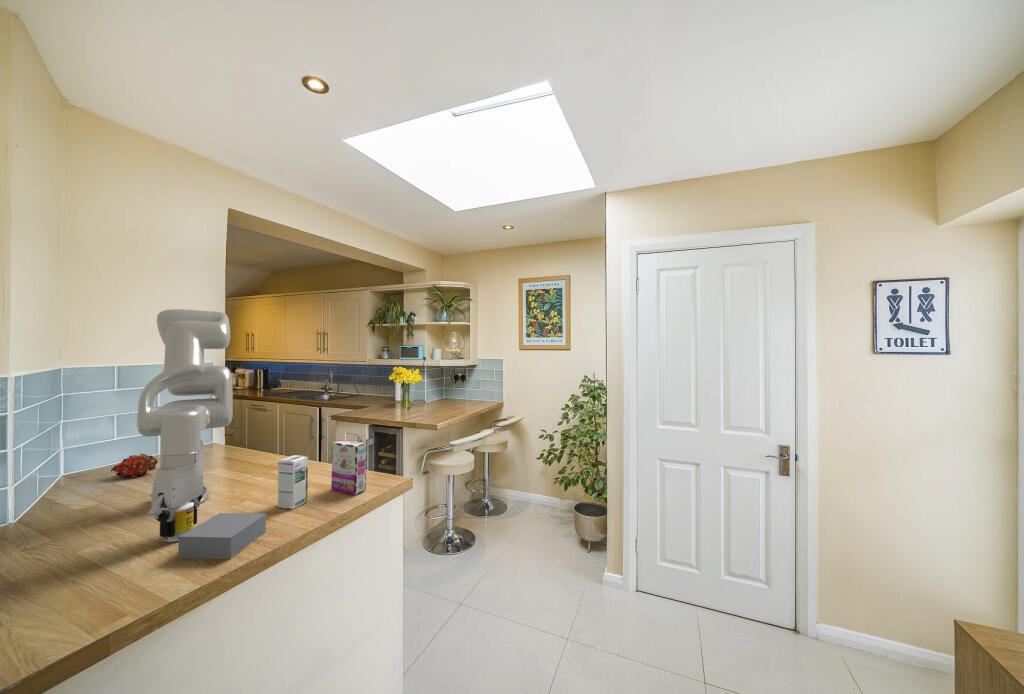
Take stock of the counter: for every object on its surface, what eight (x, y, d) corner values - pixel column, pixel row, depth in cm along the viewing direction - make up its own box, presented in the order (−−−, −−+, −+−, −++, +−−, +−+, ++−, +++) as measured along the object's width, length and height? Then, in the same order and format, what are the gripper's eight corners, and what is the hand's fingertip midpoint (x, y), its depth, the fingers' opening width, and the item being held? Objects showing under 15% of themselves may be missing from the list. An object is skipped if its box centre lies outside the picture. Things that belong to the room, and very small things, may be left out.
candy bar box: (366, 490, 125) (367, 442, 125) (355, 495, 121) (356, 446, 121) (342, 485, 130) (343, 439, 130) (330, 490, 125) (331, 442, 125)
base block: (178, 558, 84) (178, 536, 84) (219, 531, 96) (220, 512, 96) (230, 559, 84) (231, 537, 84) (265, 532, 96) (266, 513, 96)
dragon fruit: (160, 476, 138) (114, 489, 130) (159, 459, 142) (114, 470, 134) (156, 462, 133) (108, 474, 125) (155, 445, 138) (108, 455, 130)
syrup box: (293, 509, 110) (294, 461, 110) (276, 507, 111) (277, 459, 111) (307, 502, 115) (308, 456, 115) (291, 500, 116) (292, 454, 116)
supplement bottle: (189, 540, 92) (189, 499, 92) (159, 545, 89) (160, 503, 89) (196, 530, 97) (197, 491, 97) (169, 534, 94) (169, 494, 94)
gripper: (194, 449, 102) (193, 514, 102) (130, 469, 84) (128, 548, 84) (222, 449, 102) (220, 514, 102) (163, 470, 84) (161, 549, 84)
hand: (179, 529), depth 93 cm, fingers closed on supplement bottle, 5 cm apart
